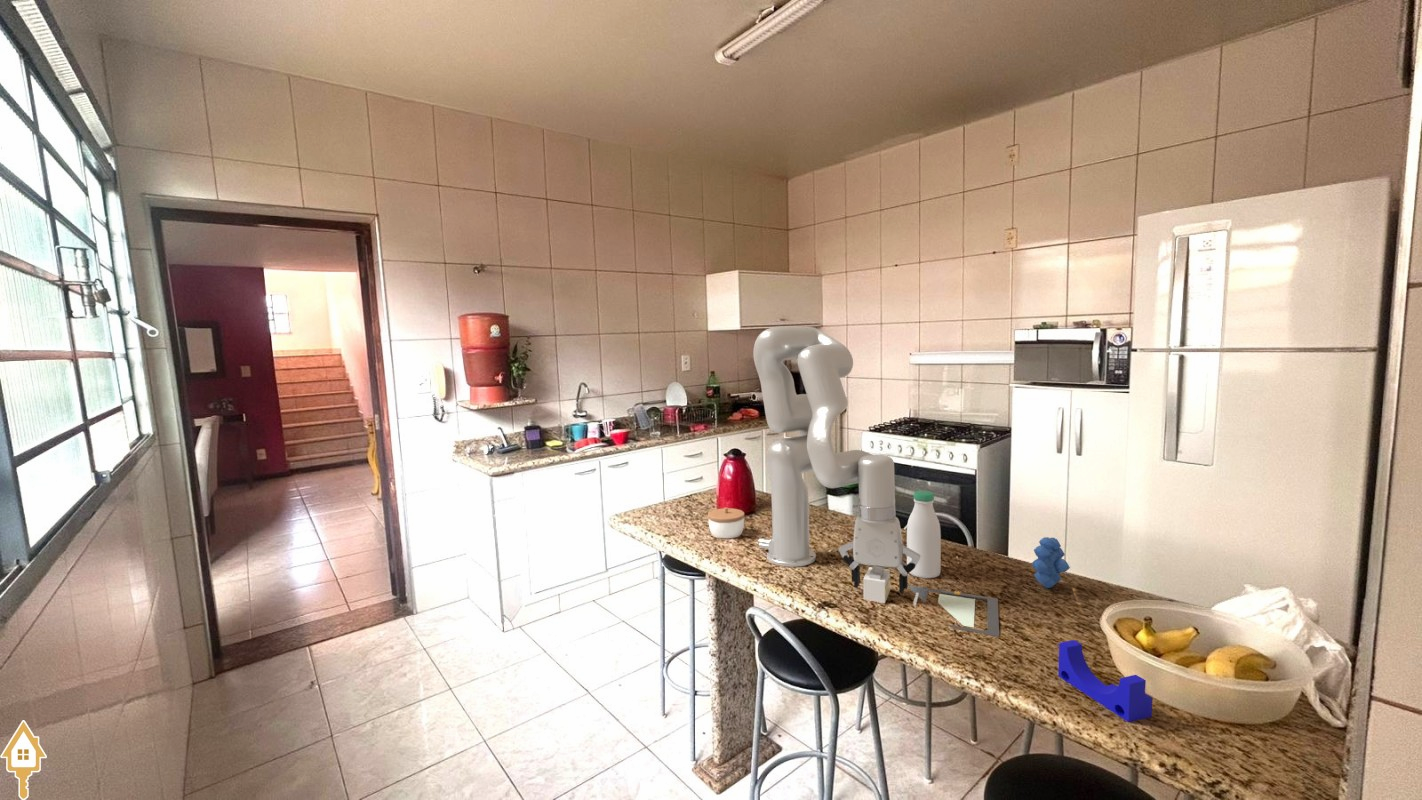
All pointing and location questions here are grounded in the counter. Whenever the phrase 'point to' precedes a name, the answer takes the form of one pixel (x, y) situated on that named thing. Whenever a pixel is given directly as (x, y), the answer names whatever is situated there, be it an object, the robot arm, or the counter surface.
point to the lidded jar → (726, 522)
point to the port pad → (959, 608)
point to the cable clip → (1118, 699)
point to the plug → (876, 584)
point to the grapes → (1049, 562)
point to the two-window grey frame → (991, 602)
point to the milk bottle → (924, 536)
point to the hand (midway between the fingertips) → (879, 588)
